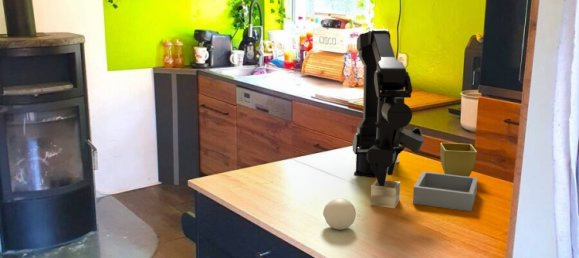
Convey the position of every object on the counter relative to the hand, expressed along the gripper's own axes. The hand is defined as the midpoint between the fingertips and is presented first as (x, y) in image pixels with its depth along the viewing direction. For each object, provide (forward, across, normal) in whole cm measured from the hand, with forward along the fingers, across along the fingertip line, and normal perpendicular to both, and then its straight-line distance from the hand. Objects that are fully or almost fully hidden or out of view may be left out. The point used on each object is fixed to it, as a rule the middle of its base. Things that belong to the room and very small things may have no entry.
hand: (386, 180), depth 149 cm
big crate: (+6, +9, -14) cm, 17 cm away
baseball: (+6, -20, +6) cm, 22 cm away
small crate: (+6, 0, 0) cm, 6 cm away
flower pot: (+6, +28, -14) cm, 32 cm away
